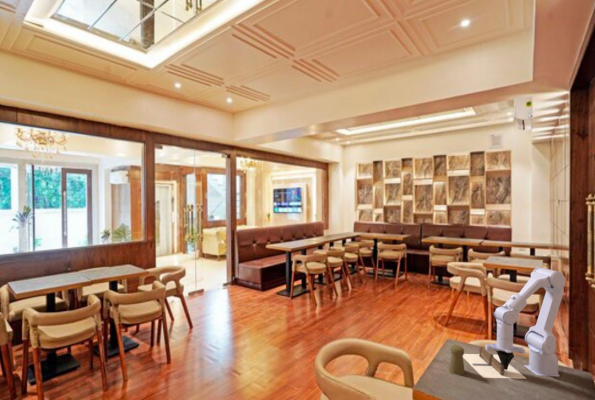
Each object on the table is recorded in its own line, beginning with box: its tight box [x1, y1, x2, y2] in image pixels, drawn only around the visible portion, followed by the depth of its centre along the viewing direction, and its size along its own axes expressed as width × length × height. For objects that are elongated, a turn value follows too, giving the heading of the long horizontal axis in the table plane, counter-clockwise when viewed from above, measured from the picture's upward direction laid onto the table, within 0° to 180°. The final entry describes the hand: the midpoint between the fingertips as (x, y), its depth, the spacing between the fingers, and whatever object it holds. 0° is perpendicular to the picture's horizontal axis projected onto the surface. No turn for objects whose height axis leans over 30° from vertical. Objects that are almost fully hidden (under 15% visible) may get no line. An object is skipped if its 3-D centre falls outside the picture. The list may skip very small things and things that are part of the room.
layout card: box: [463, 353, 527, 380], centre depth 137 cm, size 18×20×1 cm
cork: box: [448, 344, 466, 376], centre depth 132 cm, size 6×6×11 cm
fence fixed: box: [478, 346, 494, 366], centre depth 141 cm, size 2×9×4 cm, turn 179°
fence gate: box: [492, 357, 504, 375], centre depth 132 cm, size 1×7×4 cm, turn 179°
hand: (504, 368), depth 132 cm, fingers closed
